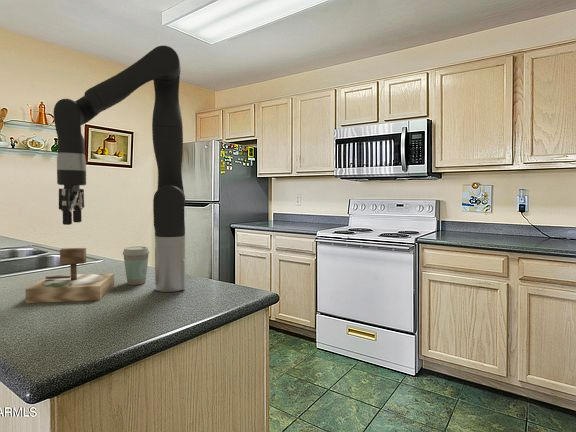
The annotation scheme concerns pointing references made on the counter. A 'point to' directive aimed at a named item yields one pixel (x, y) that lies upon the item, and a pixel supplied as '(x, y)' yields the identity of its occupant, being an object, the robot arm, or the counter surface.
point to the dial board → (70, 288)
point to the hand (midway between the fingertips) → (72, 223)
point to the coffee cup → (136, 264)
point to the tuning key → (71, 261)
